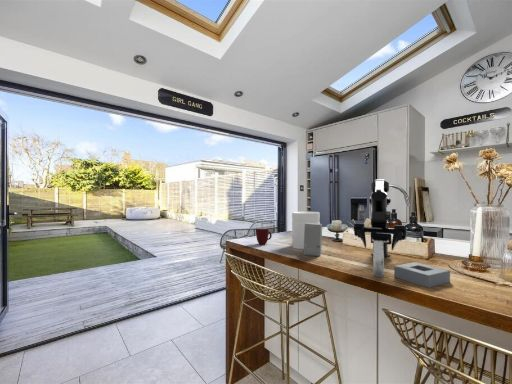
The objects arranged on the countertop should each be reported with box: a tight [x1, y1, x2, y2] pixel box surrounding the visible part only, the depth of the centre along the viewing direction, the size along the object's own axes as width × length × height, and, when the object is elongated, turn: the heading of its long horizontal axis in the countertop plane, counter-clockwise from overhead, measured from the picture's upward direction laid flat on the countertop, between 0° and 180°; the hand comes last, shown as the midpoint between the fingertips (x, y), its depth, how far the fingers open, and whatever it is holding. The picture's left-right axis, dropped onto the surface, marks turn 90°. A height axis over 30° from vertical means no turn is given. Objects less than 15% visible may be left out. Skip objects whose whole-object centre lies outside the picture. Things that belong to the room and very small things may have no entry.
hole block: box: [393, 261, 451, 289], centre depth 88 cm, size 12×12×4 cm
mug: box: [255, 226, 272, 246], centre depth 152 cm, size 10×8×10 cm
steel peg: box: [372, 240, 385, 278], centre depth 93 cm, size 4×4×13 cm
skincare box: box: [303, 223, 323, 257], centre depth 126 cm, size 8×7×16 cm
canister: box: [291, 211, 321, 250], centre depth 145 cm, size 16×16×20 cm
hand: (378, 248), depth 95 cm, fingers open, 9 cm apart
